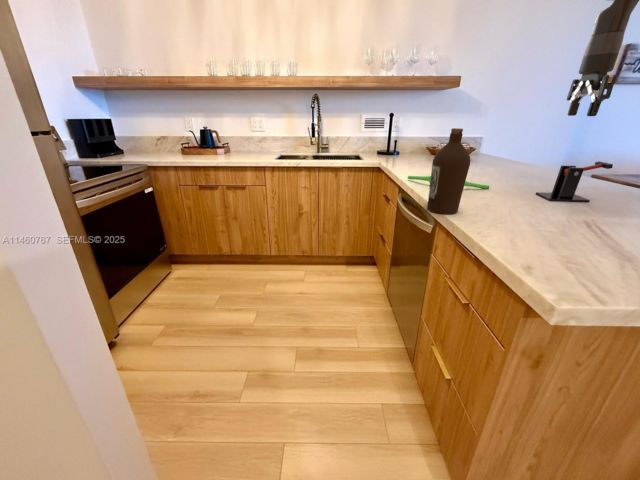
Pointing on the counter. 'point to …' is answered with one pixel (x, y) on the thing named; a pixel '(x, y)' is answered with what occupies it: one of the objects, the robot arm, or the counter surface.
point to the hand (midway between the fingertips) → (580, 115)
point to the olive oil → (448, 175)
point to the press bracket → (565, 186)
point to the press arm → (594, 166)
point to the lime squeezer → (428, 178)
